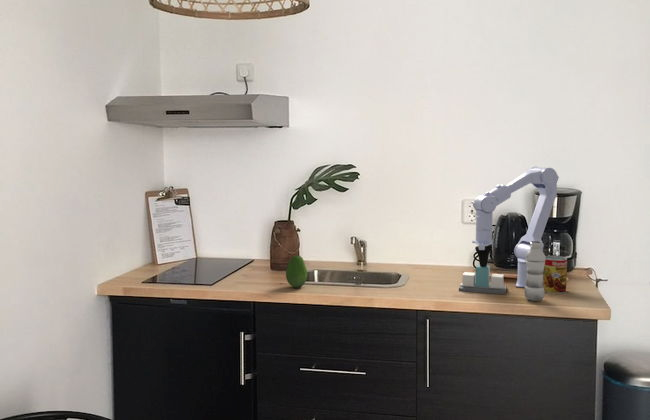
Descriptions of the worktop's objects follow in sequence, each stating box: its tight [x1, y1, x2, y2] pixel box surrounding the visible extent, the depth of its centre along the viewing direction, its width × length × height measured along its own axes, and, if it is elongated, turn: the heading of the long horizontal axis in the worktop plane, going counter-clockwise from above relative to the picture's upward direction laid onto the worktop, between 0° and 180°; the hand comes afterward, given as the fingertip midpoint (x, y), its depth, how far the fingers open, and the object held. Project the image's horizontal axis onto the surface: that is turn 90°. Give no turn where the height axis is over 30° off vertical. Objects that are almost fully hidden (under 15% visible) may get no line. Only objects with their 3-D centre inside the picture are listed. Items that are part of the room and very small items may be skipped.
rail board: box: [458, 271, 508, 295], centre depth 227 cm, size 16×9×6 cm, turn 70°
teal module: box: [475, 264, 491, 287], centre depth 227 cm, size 4×4×7 cm
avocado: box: [285, 255, 308, 289], centre depth 233 cm, size 8×8×12 cm
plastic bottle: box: [524, 241, 546, 302], centre depth 211 cm, size 6×7×20 cm
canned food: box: [543, 255, 568, 294], centre depth 224 cm, size 8×8×12 cm
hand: (483, 266), depth 226 cm, fingers closed
